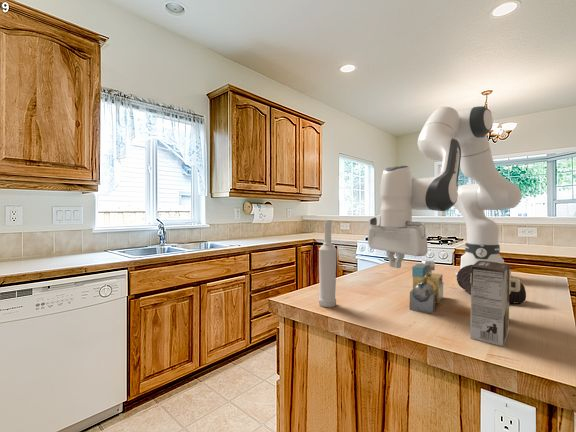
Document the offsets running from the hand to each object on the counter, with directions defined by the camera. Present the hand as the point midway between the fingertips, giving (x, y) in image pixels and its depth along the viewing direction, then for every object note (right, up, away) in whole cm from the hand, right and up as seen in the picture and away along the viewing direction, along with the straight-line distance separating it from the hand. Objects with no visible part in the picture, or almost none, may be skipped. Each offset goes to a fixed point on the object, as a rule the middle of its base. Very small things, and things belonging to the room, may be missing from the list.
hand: (395, 267), depth 91 cm
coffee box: (+13, -12, -22) cm, 28 cm away
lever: (+7, -1, -3) cm, 8 cm away
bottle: (-20, -11, -1) cm, 23 cm away
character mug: (+22, -12, -11) cm, 27 cm away
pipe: (+33, -11, +8) cm, 36 cm away
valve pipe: (+10, -11, +2) cm, 15 cm away
